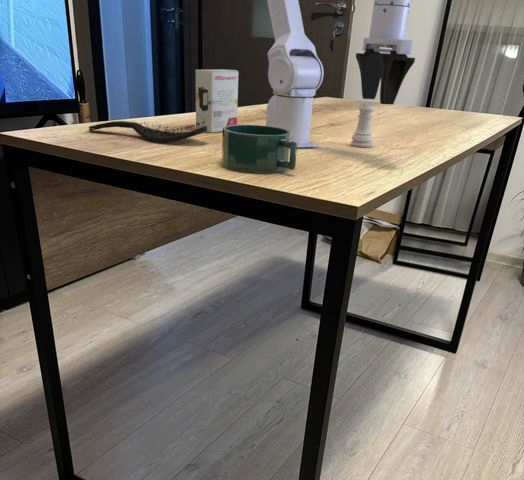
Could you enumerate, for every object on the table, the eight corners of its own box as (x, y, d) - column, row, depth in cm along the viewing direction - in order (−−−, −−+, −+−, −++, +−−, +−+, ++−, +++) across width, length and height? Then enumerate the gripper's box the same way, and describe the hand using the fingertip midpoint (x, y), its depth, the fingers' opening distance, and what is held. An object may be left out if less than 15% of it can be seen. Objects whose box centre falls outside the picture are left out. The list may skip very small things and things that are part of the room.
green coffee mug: (208, 163, 86) (208, 127, 83) (254, 157, 93) (256, 123, 90) (270, 180, 78) (272, 140, 76) (315, 172, 85) (319, 135, 82)
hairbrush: (100, 113, 109) (213, 118, 102) (102, 132, 111) (214, 139, 104) (75, 117, 102) (195, 123, 95) (78, 138, 104) (196, 145, 97)
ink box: (221, 126, 121) (223, 68, 115) (238, 130, 119) (240, 70, 113) (194, 129, 116) (194, 68, 110) (211, 133, 113) (211, 70, 107)
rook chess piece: (351, 146, 108) (357, 103, 104) (349, 143, 112) (354, 101, 108) (373, 148, 108) (380, 105, 104) (370, 144, 112) (376, 102, 108)
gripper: (437, 7, 79) (418, 107, 86) (395, 9, 91) (381, 97, 98) (393, 3, 77) (378, 105, 84) (356, 6, 89) (345, 96, 96)
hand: (377, 101), depth 91 cm, fingers open, 7 cm apart
